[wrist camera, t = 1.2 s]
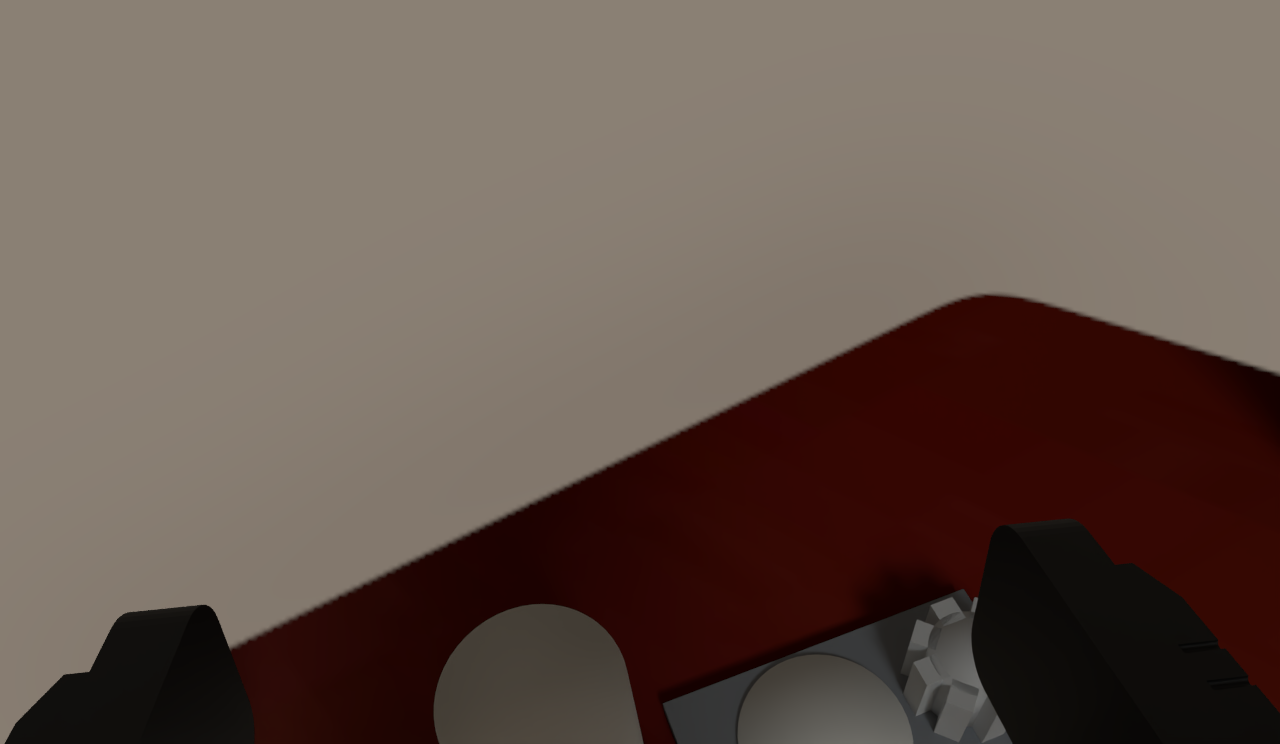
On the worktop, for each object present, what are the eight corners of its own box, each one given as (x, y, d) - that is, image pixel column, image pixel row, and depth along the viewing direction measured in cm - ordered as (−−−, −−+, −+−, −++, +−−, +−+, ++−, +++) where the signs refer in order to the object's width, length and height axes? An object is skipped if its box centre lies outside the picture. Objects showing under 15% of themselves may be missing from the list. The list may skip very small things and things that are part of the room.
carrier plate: (960, 596, 34) (976, 553, 31) (1063, 755, 30) (1090, 718, 27) (663, 710, 32) (657, 672, 29) (732, 894, 28) (731, 868, 26)
